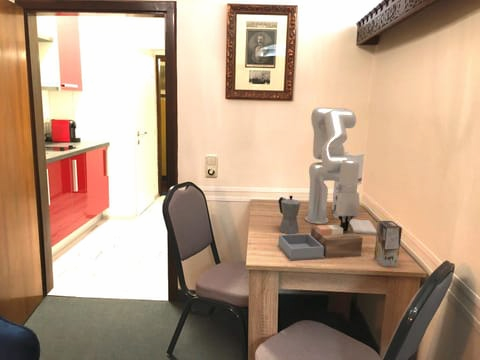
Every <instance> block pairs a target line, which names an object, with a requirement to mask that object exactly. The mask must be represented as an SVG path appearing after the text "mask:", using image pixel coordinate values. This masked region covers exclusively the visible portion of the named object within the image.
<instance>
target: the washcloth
mask: <svg viewBox="0 0 480 360" xmlns="http://www.w3.org/2000/svg"><path fill="white" fill-rule="evenodd" d="M349 229H350V230H352V231H353V232H355V233H356V234H365V235H377V229H376V228H375V226H374V224H373V223H372V222H371V220H369V219H368V220H367V219H365V220H364V219H356V218H355V219H354V218H352V219H351V220H350V222H349Z"/></svg>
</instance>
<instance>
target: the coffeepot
mask: <svg viewBox="0 0 480 360" xmlns="http://www.w3.org/2000/svg"><path fill="white" fill-rule="evenodd" d="M278 206H279V212H280V214H282V218H281V221H280V222H281V223H280V227H279V231H280V233H282V234H284V235H291V234H298V232H299V225H298V224H299V223H298V217H297V216H299V210H300V207H301V201H299V200H298V199H294V198H293V195H289V198H285V197H282V196H281V197H279V198H278Z"/></svg>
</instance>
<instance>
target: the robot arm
mask: <svg viewBox="0 0 480 360" xmlns="http://www.w3.org/2000/svg"><path fill="white" fill-rule="evenodd" d="M310 119H311V126H312V129H313V143H312V145H313V146H312V155H313V158H314V159H316V160H320V161H321V162H320V161H317V162H313V163H311V164H310V165H309V168H308V174H309V193H308V194H309V195H308V209H307V215H306V216H304V221H306V222H307V223H310V224H316V225H323V224H324V225H326V224H327V223H329V217H327V208H328V207H327V206H328V194H329V188H328V186H327V185H326V183H325V182H327V181H328V182H330V181H331V182H332V181H333V182H334V181H338V180H339V185H338V186H336V190H338V191H337V193H336V197H335V201H334V209H333V212H334V214H332V216H333V218H335V219H339V221H340V225H339V226H340V227H342V228H343V231H348V228H350V226H349V222H350V220H351V219H354V218H357V217H358V215H359V214H360V207H361V206H360V193H359V192H358V185H357V184H358V174H359V162H358V161H357V160H355V159H354V158H353V157H344V152H345V146H344V143H345V142H346V141H347V139H348V132H347V129H352V128H355V126H356V124H357V116H356V114H355V112H354V111H353V110H352V109H348V108H344V107H325V106H324V107H316V108H315V109H313V110H312V112H311V118H310Z"/></svg>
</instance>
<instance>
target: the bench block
mask: <svg viewBox="0 0 480 360" xmlns="http://www.w3.org/2000/svg"><path fill="white" fill-rule="evenodd" d="M310 229H311V230H310V235H311V236H312V237H313V238H314V239H316V240H317V241H318V242H319V243H320V244H321V245H322V246H323V247H324V254H323V259H338V258H339V259H340V258H350V257H361V256H362V248H363V237H362V236H361V235H360V234H359V233H355V232H353V231H352V230H351V229H350V227H348V231H343V234H335V235H320V234H319V233H318V232H316V226H311V228H310Z"/></svg>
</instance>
